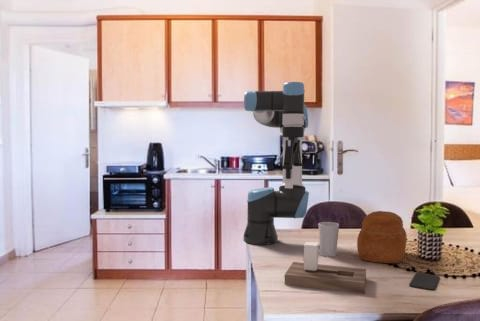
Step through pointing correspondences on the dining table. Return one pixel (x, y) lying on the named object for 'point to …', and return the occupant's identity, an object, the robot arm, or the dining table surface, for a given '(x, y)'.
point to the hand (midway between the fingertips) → (292, 185)
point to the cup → (328, 238)
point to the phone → (424, 281)
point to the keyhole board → (327, 277)
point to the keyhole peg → (311, 256)
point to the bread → (382, 238)
